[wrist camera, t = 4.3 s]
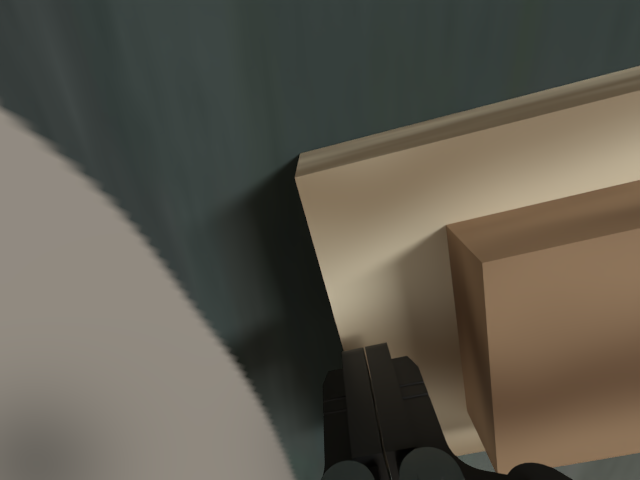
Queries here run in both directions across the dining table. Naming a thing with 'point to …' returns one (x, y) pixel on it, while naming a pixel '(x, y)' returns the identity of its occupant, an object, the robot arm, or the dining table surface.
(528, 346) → the walnut tile
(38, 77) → the dining table surface
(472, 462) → the dining table surface
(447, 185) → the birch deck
